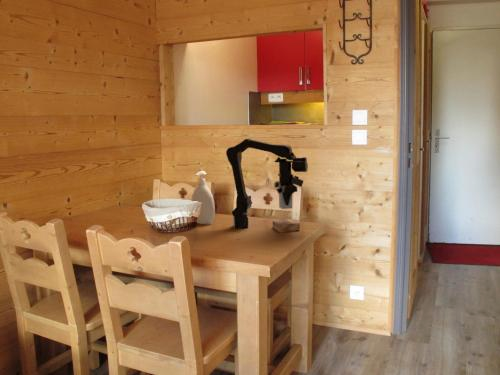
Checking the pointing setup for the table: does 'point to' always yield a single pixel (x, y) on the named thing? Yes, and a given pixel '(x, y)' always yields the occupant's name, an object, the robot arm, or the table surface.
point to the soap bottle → (204, 200)
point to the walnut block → (286, 225)
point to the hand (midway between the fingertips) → (285, 204)
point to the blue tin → (282, 202)
